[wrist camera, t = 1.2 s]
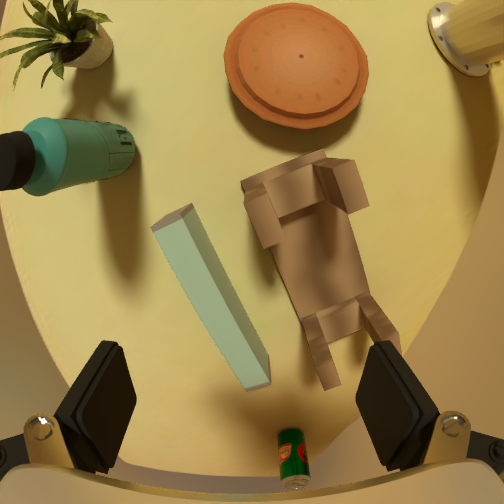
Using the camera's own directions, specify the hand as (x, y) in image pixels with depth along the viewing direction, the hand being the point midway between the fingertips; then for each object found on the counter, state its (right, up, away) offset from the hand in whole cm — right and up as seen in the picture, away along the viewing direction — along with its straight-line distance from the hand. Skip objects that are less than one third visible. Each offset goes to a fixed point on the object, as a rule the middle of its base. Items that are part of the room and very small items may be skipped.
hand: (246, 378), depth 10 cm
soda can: (+8, -30, +38) cm, 49 cm away
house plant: (-21, +29, +17) cm, 40 cm away
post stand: (+8, +4, +26) cm, 27 cm away
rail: (-4, -1, +27) cm, 28 cm away
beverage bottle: (-16, +17, +21) cm, 32 cm away
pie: (+5, +26, +19) cm, 32 cm away
